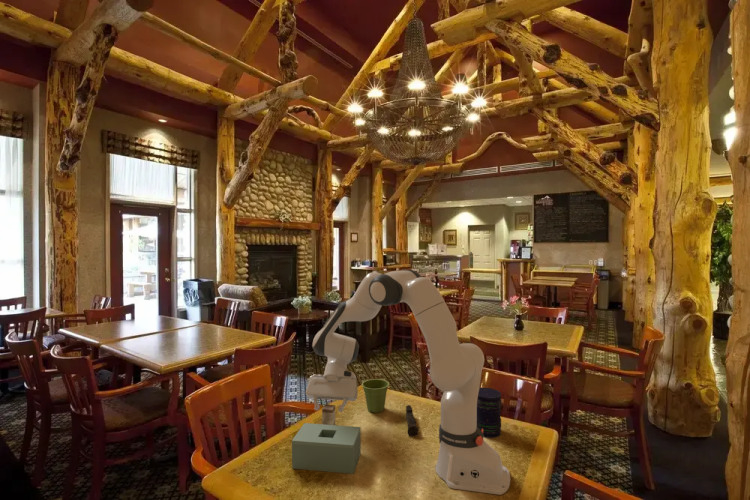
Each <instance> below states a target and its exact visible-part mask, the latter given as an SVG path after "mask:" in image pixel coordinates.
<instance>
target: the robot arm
mask: <svg viewBox="0 0 750 500" xmlns="http://www.w3.org/2000/svg"><path fill="white" fill-rule="evenodd" d="M365 275H366V276H364V278H363V279H362V280H361V282H360V284H359V285H358V286H357V289H356V291H355V292H354V295H353V296H352V297H351V298H349V299H347V300H345V301H342V302H340V303H339V305H337V307H336V308H335V309H334V311H333V312H332V313H331V315H329V316H330V317H328V319H327V320H326V321H325V323H324V324H323V326H322V327H321V328H320V329H319V330H318V331H317V333H316V334H315V335H314V338H313V339H312V340H313V341H312V344H311V347H312V350H313V351H314V353H315V355H317V356H322V357H327V362H326V364H325V368H324V373H323V374H313V375H311V376H309V378H308V382H307V387H306V388H305V395H306V397H307V398H308V399H312V400H313V402H314V408H313V409H314V411H320V404H319V403H318V402H319V400H330V401H331V400H332V401H333V400H334V401H342V403H341V404H339V405H338V412H344V408H345V407H346V405H347V404H348V402H349V401H350V402H355V401H357V399H358V394H359V393H358V384H357V376H356V374H355V372H353V371H350V370H348V368H347V366H348V364H351V363H353V362H354V361H356V360H357V358H358V355H359V350H360V349H359V348H360V345H359V342H358V341H357V339H356V338H355V337H354V338H353V337H351V336H348V335H344V334H339V333H337V332H335V331H336V329H338V327H339V325H340V324H342V323H345V322H367V321H370V320H373V319H374V318H375V317H376V316H377V315H378V313H379V312H380V310H381V309H382V306H387V307H388V306H393V305H398V304H400V303H405V304H407V305H408V306H409V308H410V310H411V311H412V314H413V316H414V319H415V320H416V322H417V324H418V326H419V329H420V331H421V332H422V333H421V334H422V335H423V337H424V341H425V343H426V346H427V350H428V354H429V355H428V356H429V360H430V366H429V367H430V368H429V377H430V380H431V382H432V384H433V385H434V386H435V387H436V388H437V389H438V390H441V391H442V392H443V394H442V396H441V398H440V424H439V426H438V427H439V428H438V440H439V450H438V457H437V461H436V464H435V469H434V470H435V472H436V474H437V476H438V477H439V478H441V479H442V480H443V481H444V482H445V483H446V484H447V486H448V487H449V488H450V489H455V490H462V491H469V492H476V493H484V494H491V495H492V494H493V495H503V494H505V493H507V491H508V490H509V488H510V486H511V474H510V471H509V469H508V468H507V467H506V466H504V465H503V463H502V459H501V456H500V453H499V452H498V451H497V450H496V449H494V448H493V447H492V446H490V445H489V443H488V442H486V441H485V440H484V437H483V428H482V431H481V430H480V429H479V428H478V427H477V399H478V393H479V388H481V380H482V370H483V368H484V364H485V356H484V352H483V350H482V349H481V347H479V346H478V345H476V344H474V343H470V342H469V343H468V342H463V343H460V342H459V341H460V340H459V337H458V333H457V327H458V326H457V322H456V320H455V318H454V315H452V313H451V311H450V309H449V307H448V305H447V302H445V299H444V297H443V296H442V294H441V292H440V291H439V289H438V287H436V286H435V284H434V283H433V282H432V280H431V279H430V278H428V277H426V276H421V274H420V273H419V271H418V272H417V271H416V270H413V269H402V270H393V271H390V272H389V271H388V272H385V273H380V272H376V271H375V272H374V271H372V272H369V273H368V274H365Z"/></svg>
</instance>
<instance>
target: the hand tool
mask: <svg viewBox="0 0 750 500" xmlns="http://www.w3.org/2000/svg"><path fill="white" fill-rule="evenodd" d="M413 413H414V412H413V408H412V406H411V405H410V404H408V405H406V406H405V417H406V423H407V435H408V437H417V436H418V434H419V430H420V429H419V427H418V426H417V421H416V420H415V417H414V414H413Z"/></svg>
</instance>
